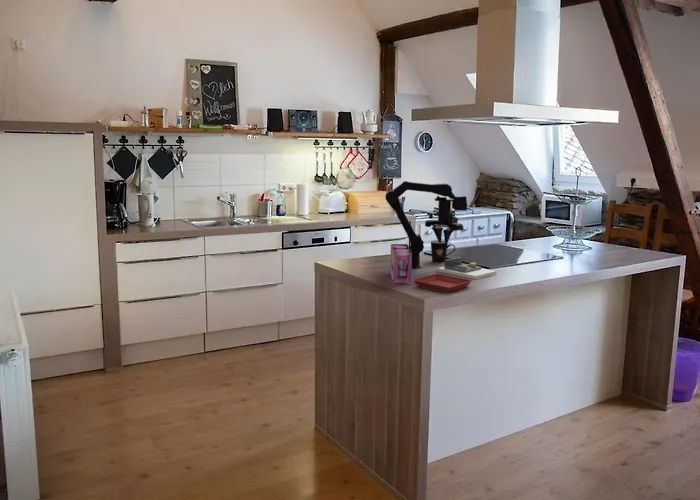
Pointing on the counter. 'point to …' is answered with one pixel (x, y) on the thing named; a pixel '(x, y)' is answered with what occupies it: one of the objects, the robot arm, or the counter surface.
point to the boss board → (471, 274)
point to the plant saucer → (442, 282)
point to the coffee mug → (439, 251)
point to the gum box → (401, 263)
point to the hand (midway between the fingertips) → (443, 243)
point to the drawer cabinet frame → (458, 265)
